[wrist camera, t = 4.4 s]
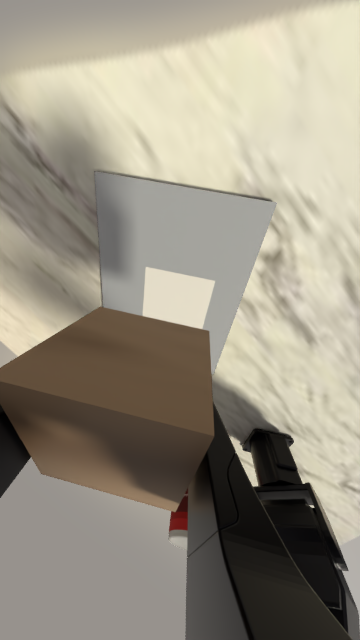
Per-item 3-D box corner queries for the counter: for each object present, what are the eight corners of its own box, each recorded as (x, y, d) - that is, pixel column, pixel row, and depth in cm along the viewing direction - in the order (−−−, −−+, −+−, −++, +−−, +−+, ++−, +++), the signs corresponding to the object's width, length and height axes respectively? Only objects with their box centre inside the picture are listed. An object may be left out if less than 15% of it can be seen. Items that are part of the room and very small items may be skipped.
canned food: (195, 470, 36) (192, 555, 26) (171, 454, 34) (157, 537, 25) (222, 463, 33) (229, 555, 23) (196, 444, 31) (192, 535, 21)
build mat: (213, 372, 22) (213, 375, 22) (107, 347, 23) (105, 349, 23) (274, 204, 13) (277, 202, 13) (97, 173, 14) (94, 170, 14)
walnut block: (187, 402, 11) (175, 512, 6) (106, 382, 11) (41, 473, 7) (209, 330, 8) (214, 436, 4) (100, 306, 8) (-16, 377, 4)
